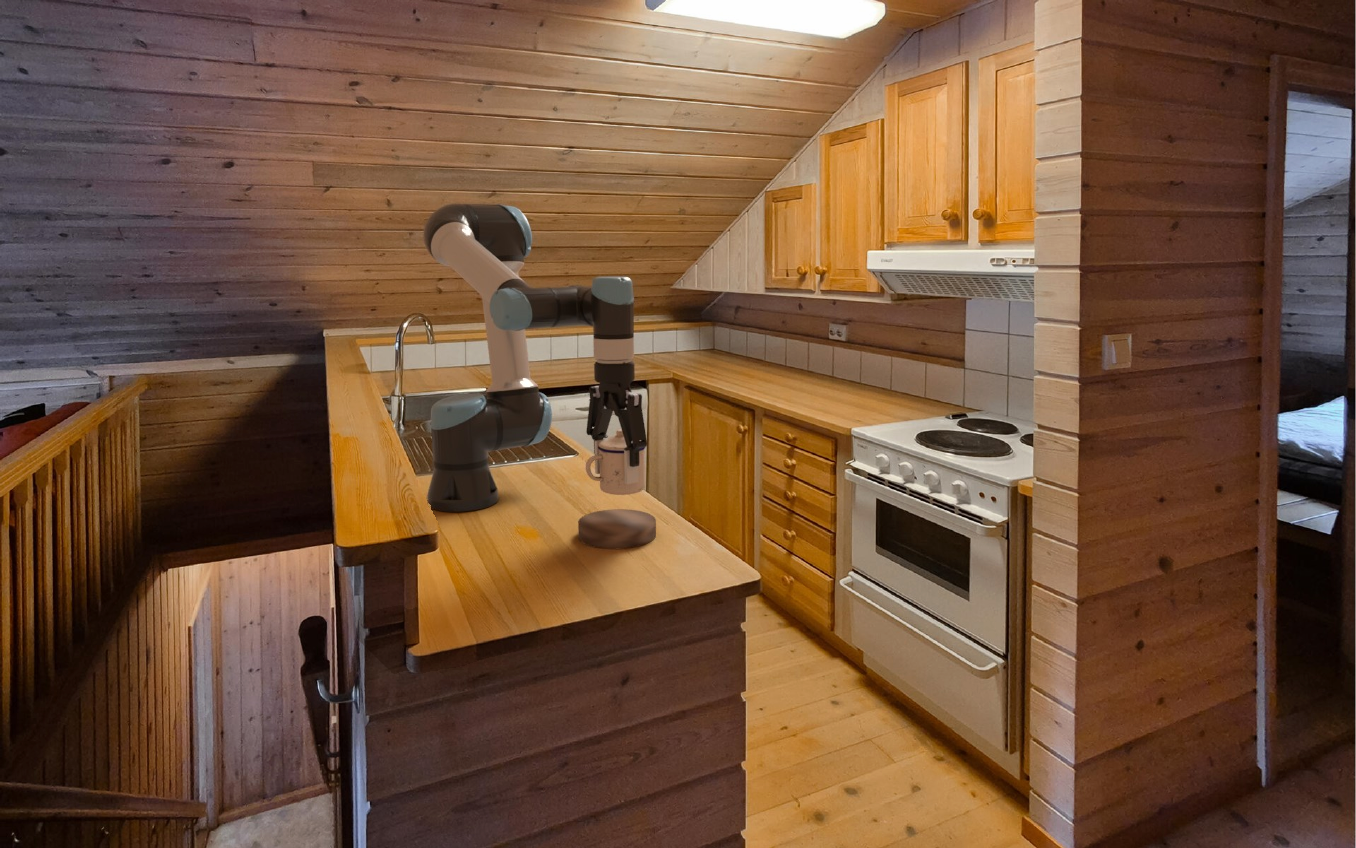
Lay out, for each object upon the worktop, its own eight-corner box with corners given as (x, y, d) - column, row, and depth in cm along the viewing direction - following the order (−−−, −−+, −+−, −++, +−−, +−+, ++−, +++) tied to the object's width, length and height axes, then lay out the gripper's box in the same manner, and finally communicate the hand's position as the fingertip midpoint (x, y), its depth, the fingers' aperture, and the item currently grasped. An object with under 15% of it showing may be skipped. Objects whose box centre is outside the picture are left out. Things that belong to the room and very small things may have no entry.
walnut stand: (607, 554, 155) (607, 539, 154) (563, 534, 166) (563, 519, 165) (671, 537, 164) (671, 522, 164) (625, 518, 175) (625, 504, 175)
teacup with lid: (633, 480, 170) (632, 423, 168) (654, 491, 162) (653, 432, 160) (577, 488, 164) (576, 429, 162) (596, 500, 157) (595, 439, 154)
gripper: (666, 364, 152) (667, 485, 157) (597, 353, 169) (600, 463, 173) (632, 368, 148) (634, 493, 152) (565, 356, 164) (569, 469, 169)
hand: (616, 477), depth 163 cm, fingers closed on teacup with lid, 9 cm apart
